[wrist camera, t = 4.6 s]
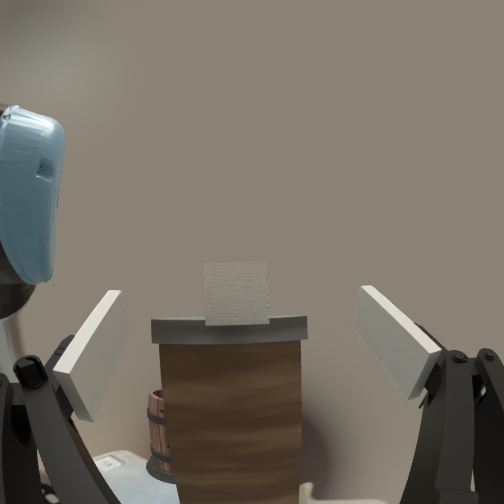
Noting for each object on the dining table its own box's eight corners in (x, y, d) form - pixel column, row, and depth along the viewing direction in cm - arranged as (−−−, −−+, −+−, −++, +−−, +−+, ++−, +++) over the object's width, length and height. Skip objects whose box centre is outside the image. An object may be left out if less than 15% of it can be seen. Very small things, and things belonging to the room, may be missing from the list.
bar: (269, 323, 13) (266, 261, 13) (205, 325, 12) (204, 262, 13) (233, 315, 44) (232, 297, 44) (214, 316, 43) (214, 297, 44)
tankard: (140, 454, 49) (129, 384, 54) (201, 446, 58) (195, 380, 62) (163, 506, 30) (145, 420, 34) (245, 489, 38) (240, 408, 43)
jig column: (297, 568, 15) (306, 316, 23) (197, 575, 13) (151, 319, 21) (278, 521, 27) (275, 315, 35) (199, 525, 26) (175, 317, 33)
